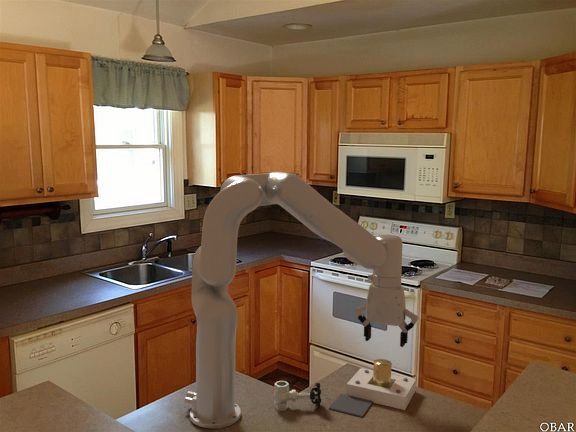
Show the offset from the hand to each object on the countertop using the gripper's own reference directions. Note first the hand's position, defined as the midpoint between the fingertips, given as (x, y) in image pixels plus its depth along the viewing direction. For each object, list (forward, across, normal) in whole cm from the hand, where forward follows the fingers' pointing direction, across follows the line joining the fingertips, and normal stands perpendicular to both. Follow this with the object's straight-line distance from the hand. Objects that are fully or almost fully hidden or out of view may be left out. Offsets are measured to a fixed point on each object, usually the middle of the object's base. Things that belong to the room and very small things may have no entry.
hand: (385, 342), depth 141 cm
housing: (+15, -1, -1) cm, 15 cm away
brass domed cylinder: (+15, -1, -1) cm, 15 cm away
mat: (+14, -6, -11) cm, 19 cm away
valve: (+14, -18, -19) cm, 30 cm away
